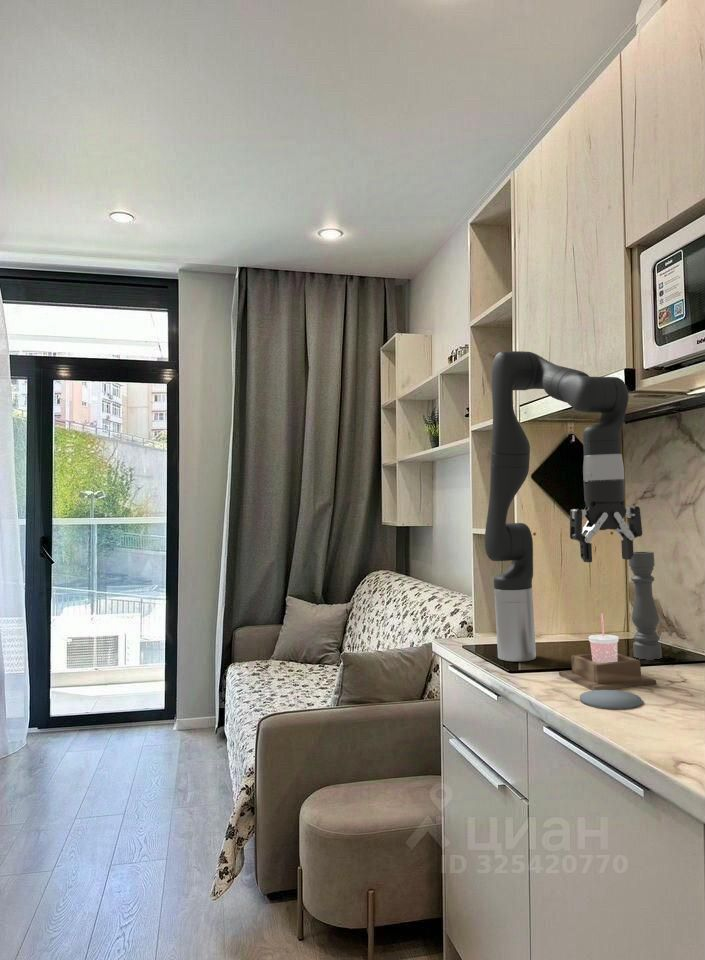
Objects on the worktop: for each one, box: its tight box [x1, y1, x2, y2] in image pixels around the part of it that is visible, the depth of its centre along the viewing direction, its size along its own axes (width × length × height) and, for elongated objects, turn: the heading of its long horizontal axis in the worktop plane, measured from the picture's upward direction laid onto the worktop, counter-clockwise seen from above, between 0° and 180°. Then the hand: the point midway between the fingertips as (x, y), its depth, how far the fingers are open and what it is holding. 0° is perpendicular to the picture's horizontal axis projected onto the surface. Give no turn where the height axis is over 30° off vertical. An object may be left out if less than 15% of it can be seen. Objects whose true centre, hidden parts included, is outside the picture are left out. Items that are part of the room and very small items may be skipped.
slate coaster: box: [579, 689, 643, 710], centre depth 130 cm, size 11×11×1 cm
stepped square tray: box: [558, 652, 657, 691], centre depth 145 cm, size 14×14×4 cm
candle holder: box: [628, 551, 663, 661], centre depth 163 cm, size 6×6×25 cm
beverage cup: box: [588, 612, 619, 663], centre depth 145 cm, size 6×6×14 cm
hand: (607, 560), depth 134 cm, fingers open, 8 cm apart
